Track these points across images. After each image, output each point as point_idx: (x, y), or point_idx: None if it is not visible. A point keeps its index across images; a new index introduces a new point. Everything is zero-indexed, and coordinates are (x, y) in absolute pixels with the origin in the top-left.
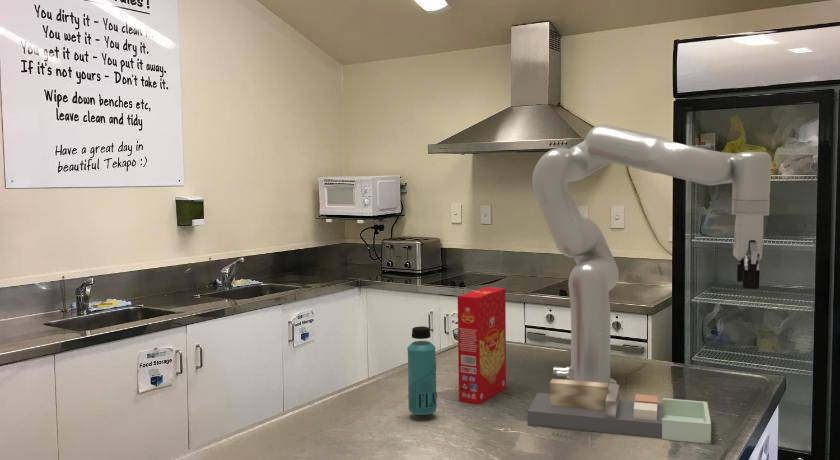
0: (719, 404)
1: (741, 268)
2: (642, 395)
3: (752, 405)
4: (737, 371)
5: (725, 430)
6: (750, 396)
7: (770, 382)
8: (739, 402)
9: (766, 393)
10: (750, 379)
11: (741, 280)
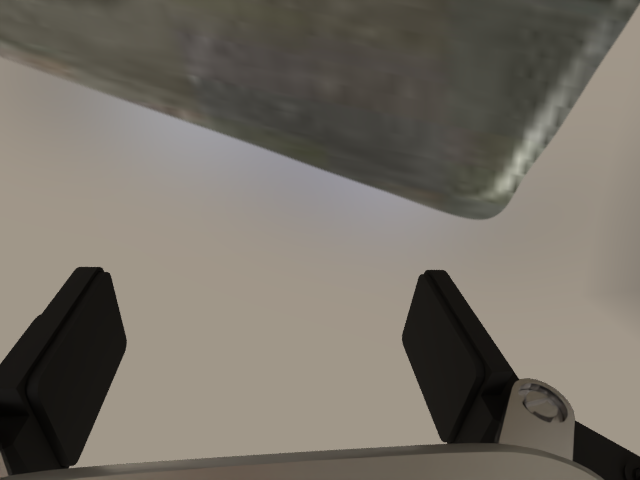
0: (269, 49)
1: (453, 362)
2: None
3: (279, 130)
4: (542, 148)
5: (55, 23)
6: (347, 139)
7: (452, 200)
8: (296, 105)
9: (373, 177)
10: (477, 164)
11: (415, 293)
